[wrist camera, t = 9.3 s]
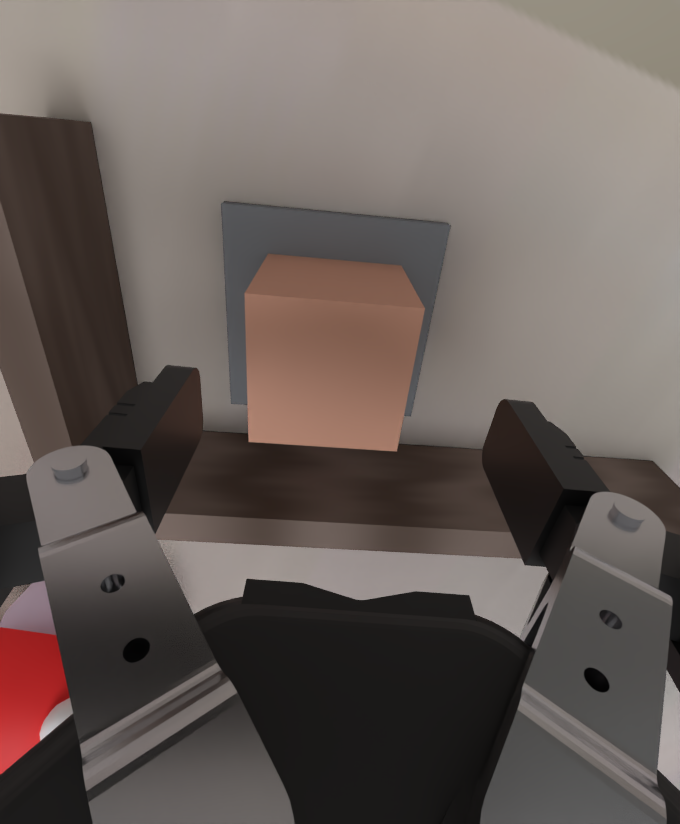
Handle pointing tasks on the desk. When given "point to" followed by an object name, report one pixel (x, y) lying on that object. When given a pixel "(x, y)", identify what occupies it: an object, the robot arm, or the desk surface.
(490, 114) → the desk surface
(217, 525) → the brown wooden corner barrier
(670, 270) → the desk surface
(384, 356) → the block
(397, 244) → the pad
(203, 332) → the desk surface
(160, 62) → the desk surface
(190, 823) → the robot arm
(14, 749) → the mushroom
